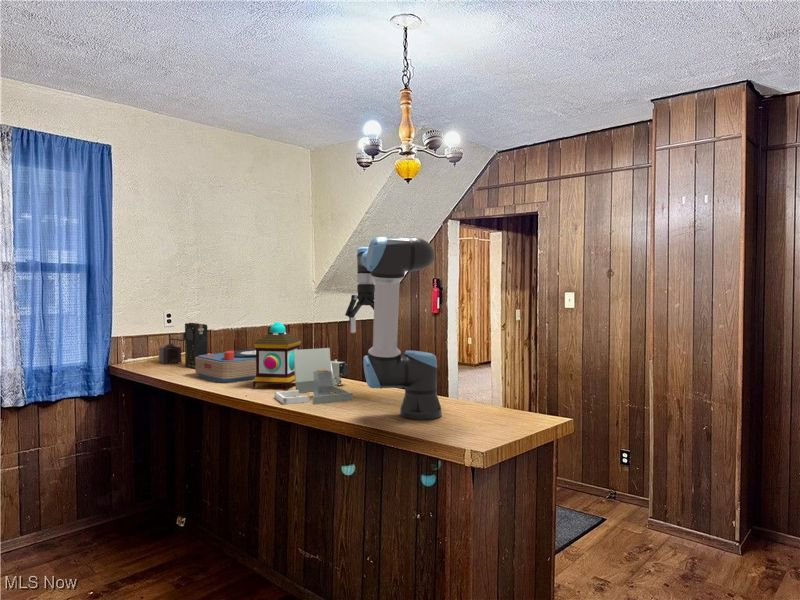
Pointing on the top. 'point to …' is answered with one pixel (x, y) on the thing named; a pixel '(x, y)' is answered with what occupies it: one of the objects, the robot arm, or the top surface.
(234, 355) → the record player
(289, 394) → the dock
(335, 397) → the case
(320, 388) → the block
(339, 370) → the pneumatic valve
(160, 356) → the dark handled box
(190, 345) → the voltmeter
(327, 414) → the top surface
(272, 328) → the decorative lantern
